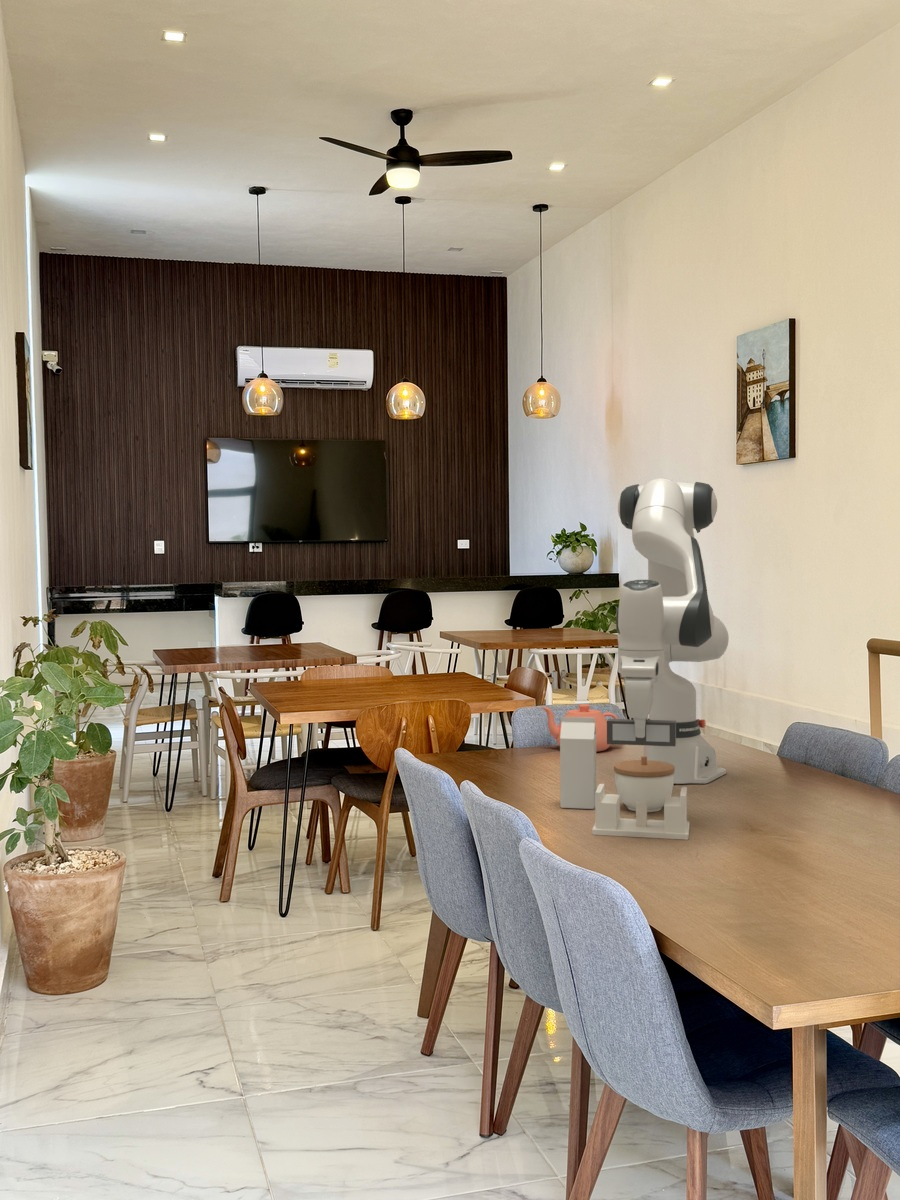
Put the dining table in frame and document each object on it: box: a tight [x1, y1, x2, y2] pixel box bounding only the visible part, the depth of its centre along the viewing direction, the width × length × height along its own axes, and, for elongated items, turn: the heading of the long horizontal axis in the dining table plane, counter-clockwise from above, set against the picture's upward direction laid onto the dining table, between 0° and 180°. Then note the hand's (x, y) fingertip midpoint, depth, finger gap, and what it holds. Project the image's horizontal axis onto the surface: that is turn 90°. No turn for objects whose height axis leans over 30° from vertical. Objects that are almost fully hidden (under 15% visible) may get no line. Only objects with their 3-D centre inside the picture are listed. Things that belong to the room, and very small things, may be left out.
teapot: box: [540, 703, 618, 753], centre depth 299 cm, size 22×16×12 cm
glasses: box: [606, 718, 676, 746], centre depth 210 cm, size 13×3×4 cm, turn 76°
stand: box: [591, 783, 691, 841], centre depth 211 cm, size 18×10×8 cm, turn 76°
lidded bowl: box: [613, 755, 675, 813], centre depth 229 cm, size 13×13×11 cm
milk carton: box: [559, 716, 597, 810], centre depth 232 cm, size 7×7×19 cm
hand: (641, 735), depth 210 cm, fingers closed on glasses, 3 cm apart
